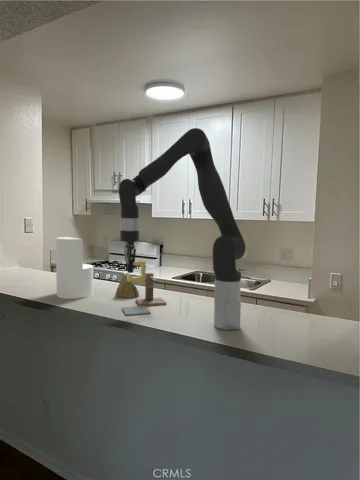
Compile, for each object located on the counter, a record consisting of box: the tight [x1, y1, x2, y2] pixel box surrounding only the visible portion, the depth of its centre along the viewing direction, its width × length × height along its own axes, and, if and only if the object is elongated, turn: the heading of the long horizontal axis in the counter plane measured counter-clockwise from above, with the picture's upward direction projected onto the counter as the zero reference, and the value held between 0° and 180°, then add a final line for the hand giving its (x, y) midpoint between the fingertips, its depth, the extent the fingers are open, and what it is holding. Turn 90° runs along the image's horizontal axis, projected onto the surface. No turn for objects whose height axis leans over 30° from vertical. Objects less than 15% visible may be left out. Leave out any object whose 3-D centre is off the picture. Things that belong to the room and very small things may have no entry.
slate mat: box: [121, 305, 152, 317], centre depth 136 cm, size 10×10×1 cm
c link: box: [126, 260, 147, 283], centre depth 135 cm, size 3×7×8 cm, turn 109°
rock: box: [114, 275, 140, 298], centre depth 160 cm, size 11×9×10 cm
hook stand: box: [135, 272, 167, 307], centre depth 146 cm, size 14×12×13 cm
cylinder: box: [55, 236, 94, 300], centre depth 162 cm, size 17×17×28 cm
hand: (129, 271), depth 134 cm, fingers closed on c link, 3 cm apart
